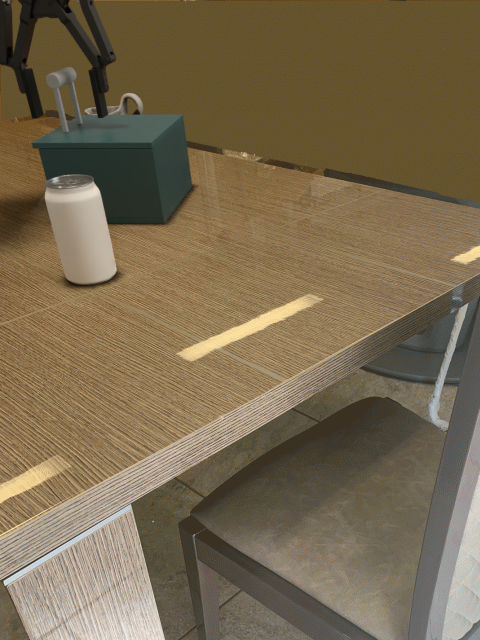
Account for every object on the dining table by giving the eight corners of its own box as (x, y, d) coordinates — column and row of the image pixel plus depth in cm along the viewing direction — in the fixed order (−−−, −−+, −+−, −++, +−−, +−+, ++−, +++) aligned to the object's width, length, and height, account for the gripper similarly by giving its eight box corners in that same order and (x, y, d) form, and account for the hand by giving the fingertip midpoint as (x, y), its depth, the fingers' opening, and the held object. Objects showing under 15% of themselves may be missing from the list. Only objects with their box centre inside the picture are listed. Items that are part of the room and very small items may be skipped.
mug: (94, 139, 146) (84, 90, 140) (150, 136, 148) (142, 88, 142) (88, 149, 139) (77, 98, 133) (147, 146, 140) (139, 95, 134)
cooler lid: (32, 148, 94) (14, 81, 88) (81, 120, 110) (68, 61, 104) (152, 148, 93) (141, 79, 87) (183, 119, 109) (176, 60, 103)
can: (58, 275, 84) (32, 180, 77) (104, 262, 87) (84, 170, 80) (78, 290, 80) (53, 192, 73) (126, 276, 83) (106, 181, 76)
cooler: (57, 223, 100) (38, 148, 94) (100, 186, 116) (85, 120, 110) (164, 223, 99) (152, 148, 93) (192, 186, 115) (183, 119, 109)
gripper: (119, -65, 89) (147, 111, 102) (-36, -61, 90) (11, 112, 104) (101, -66, 83) (133, 121, 96) (-65, -62, 84) (-11, 121, 98)
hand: (70, 116), depth 100 cm, fingers open, 10 cm apart
